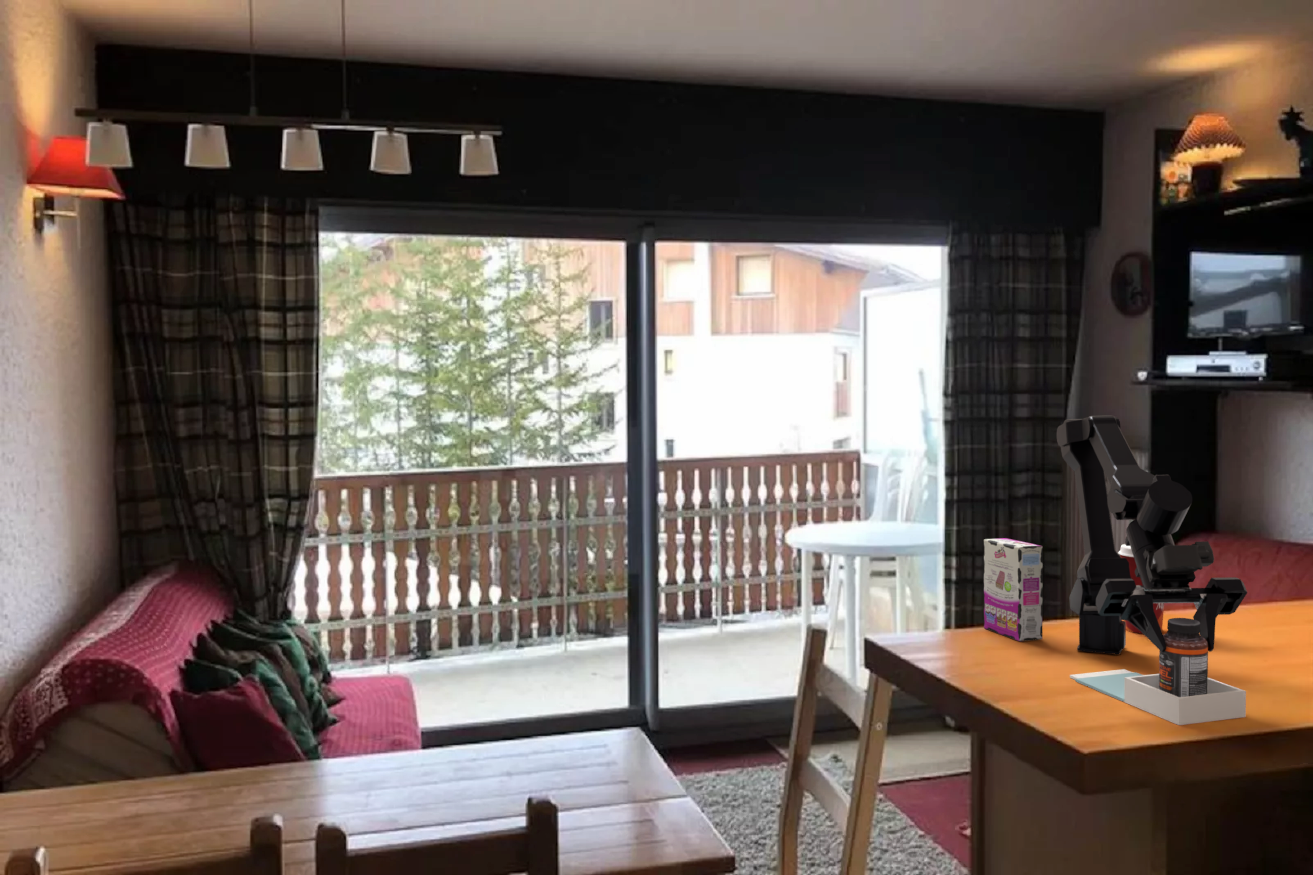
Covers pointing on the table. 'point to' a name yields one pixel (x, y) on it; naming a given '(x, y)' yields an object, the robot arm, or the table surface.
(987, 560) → the candy bar box
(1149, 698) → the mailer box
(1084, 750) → the table surface
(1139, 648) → the table surface
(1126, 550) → the coffee cup
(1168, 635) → the supplement bottle
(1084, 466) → the robot arm
